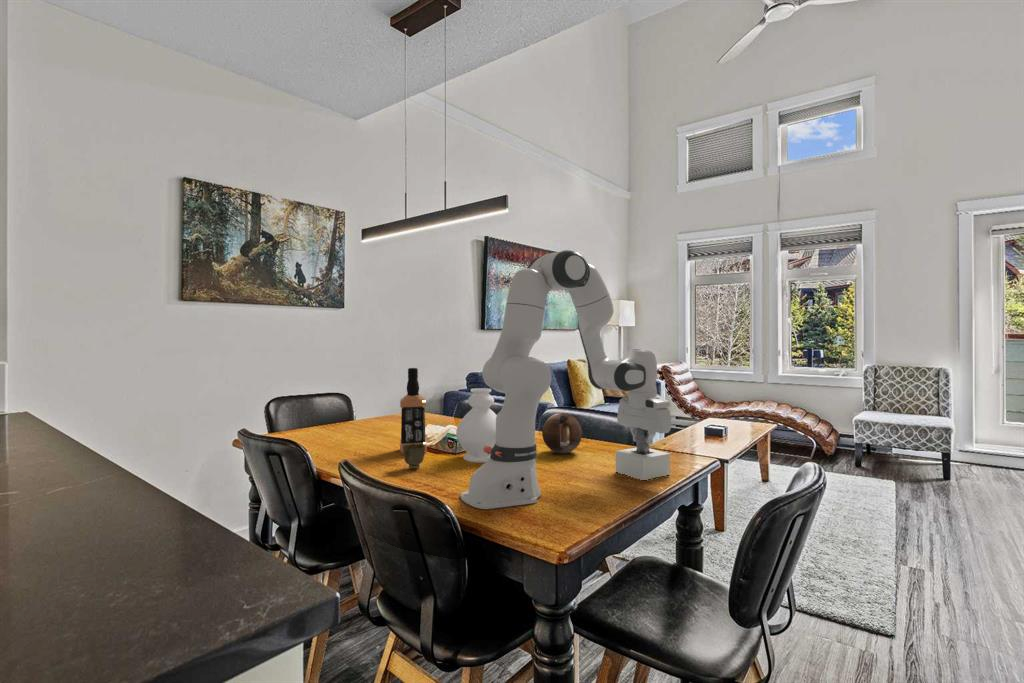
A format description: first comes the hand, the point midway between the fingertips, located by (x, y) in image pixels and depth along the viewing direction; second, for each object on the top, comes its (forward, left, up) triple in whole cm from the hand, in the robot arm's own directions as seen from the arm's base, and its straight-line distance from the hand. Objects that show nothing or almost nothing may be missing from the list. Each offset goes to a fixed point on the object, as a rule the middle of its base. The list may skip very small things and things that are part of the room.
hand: (642, 442), depth 166 cm
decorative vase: (-34, +46, -10) cm, 58 cm away
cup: (-60, +45, -10) cm, 76 cm away
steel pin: (0, 0, -7) cm, 7 cm away
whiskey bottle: (-51, +69, -10) cm, 86 cm away
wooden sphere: (-4, +37, -10) cm, 39 cm away
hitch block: (0, 0, -10) cm, 10 cm away
